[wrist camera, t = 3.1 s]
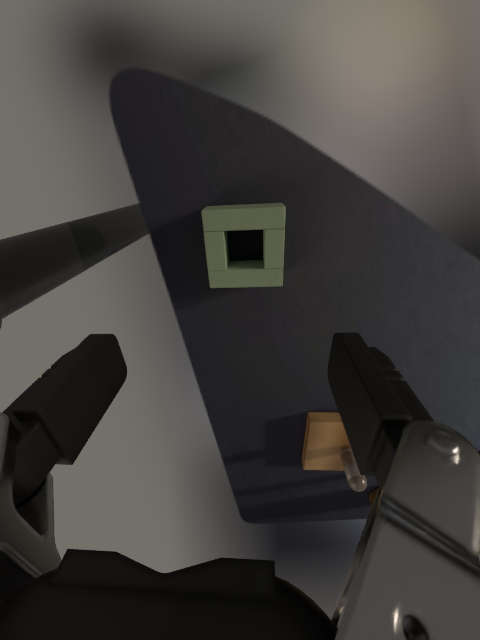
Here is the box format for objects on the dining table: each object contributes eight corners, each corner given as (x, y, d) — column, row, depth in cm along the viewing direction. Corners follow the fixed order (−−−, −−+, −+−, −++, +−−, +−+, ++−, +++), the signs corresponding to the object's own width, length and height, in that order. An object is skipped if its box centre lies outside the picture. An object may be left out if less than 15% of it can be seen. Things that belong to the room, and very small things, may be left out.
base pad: (301, 459, 37) (310, 511, 31) (307, 411, 32) (319, 463, 26) (373, 460, 36) (395, 513, 30) (390, 412, 31) (421, 465, 25)
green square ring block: (213, 277, 23) (209, 288, 21) (206, 206, 20) (200, 210, 18) (279, 275, 23) (282, 286, 21) (282, 202, 20) (285, 206, 18)
